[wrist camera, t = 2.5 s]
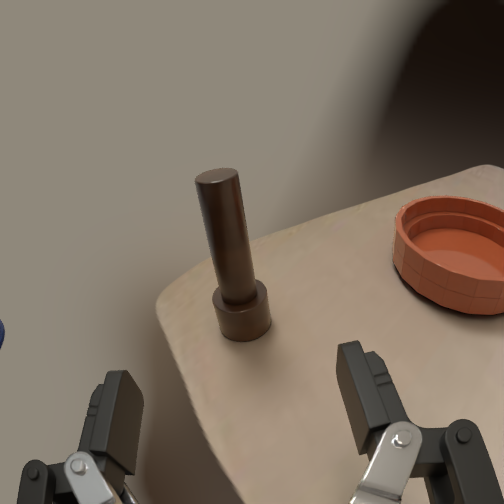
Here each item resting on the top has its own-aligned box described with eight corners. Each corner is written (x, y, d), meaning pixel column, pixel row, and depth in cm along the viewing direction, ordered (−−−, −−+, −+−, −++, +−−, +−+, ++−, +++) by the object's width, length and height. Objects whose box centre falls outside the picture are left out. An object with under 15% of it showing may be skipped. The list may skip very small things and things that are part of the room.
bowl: (360, 267, 29) (362, 229, 27) (434, 215, 35) (438, 185, 33) (501, 348, 18) (520, 308, 16) (540, 263, 24) (550, 230, 22)
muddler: (211, 321, 26) (173, 178, 19) (252, 299, 27) (228, 160, 21) (237, 350, 23) (200, 193, 16) (281, 324, 24) (263, 171, 18)
